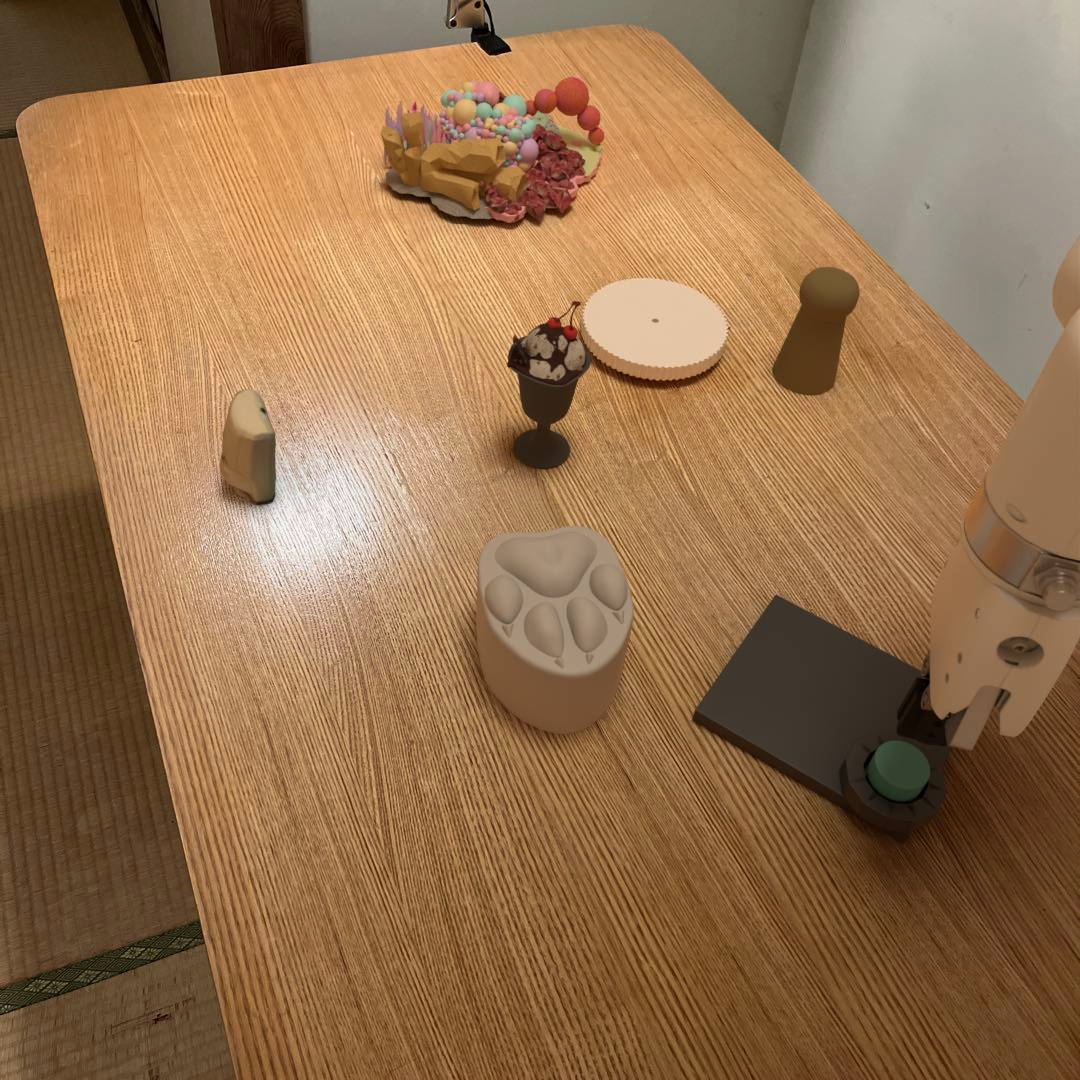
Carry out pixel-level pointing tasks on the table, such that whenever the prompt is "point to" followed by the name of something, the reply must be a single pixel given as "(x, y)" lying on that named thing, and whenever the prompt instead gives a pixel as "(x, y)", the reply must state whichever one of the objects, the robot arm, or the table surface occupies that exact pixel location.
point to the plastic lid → (654, 329)
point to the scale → (821, 713)
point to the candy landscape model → (495, 151)
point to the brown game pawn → (817, 332)
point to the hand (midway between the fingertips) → (921, 730)
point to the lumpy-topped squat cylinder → (553, 625)
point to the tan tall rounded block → (249, 449)
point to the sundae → (547, 387)
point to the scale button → (898, 771)
